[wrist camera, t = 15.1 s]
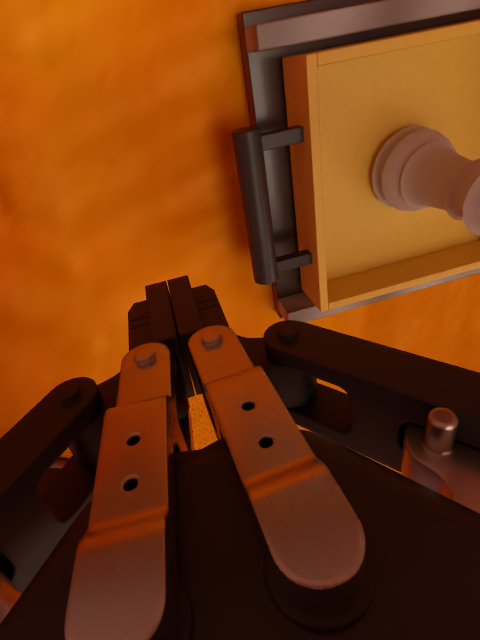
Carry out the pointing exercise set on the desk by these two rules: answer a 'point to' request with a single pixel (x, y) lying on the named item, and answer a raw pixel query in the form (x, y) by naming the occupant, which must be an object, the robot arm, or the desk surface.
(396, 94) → the tray
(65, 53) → the desk surface
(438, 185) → the rook chess piece
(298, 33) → the base
